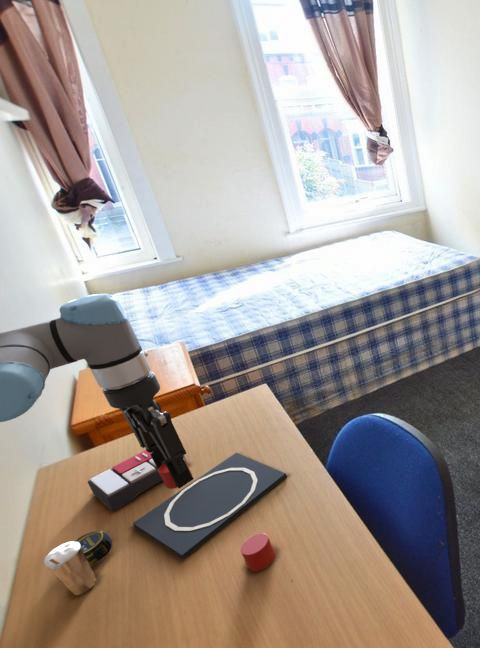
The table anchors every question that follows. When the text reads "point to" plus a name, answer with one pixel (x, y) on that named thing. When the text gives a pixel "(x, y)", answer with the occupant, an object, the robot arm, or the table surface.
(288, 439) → the table surface
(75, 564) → the milkshake
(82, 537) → the tape measure
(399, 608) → the table surface
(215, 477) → the face mat
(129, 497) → the calculator
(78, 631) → the table surface
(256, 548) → the red short cylinder
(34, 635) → the table surface
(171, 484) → the red cylinder block
